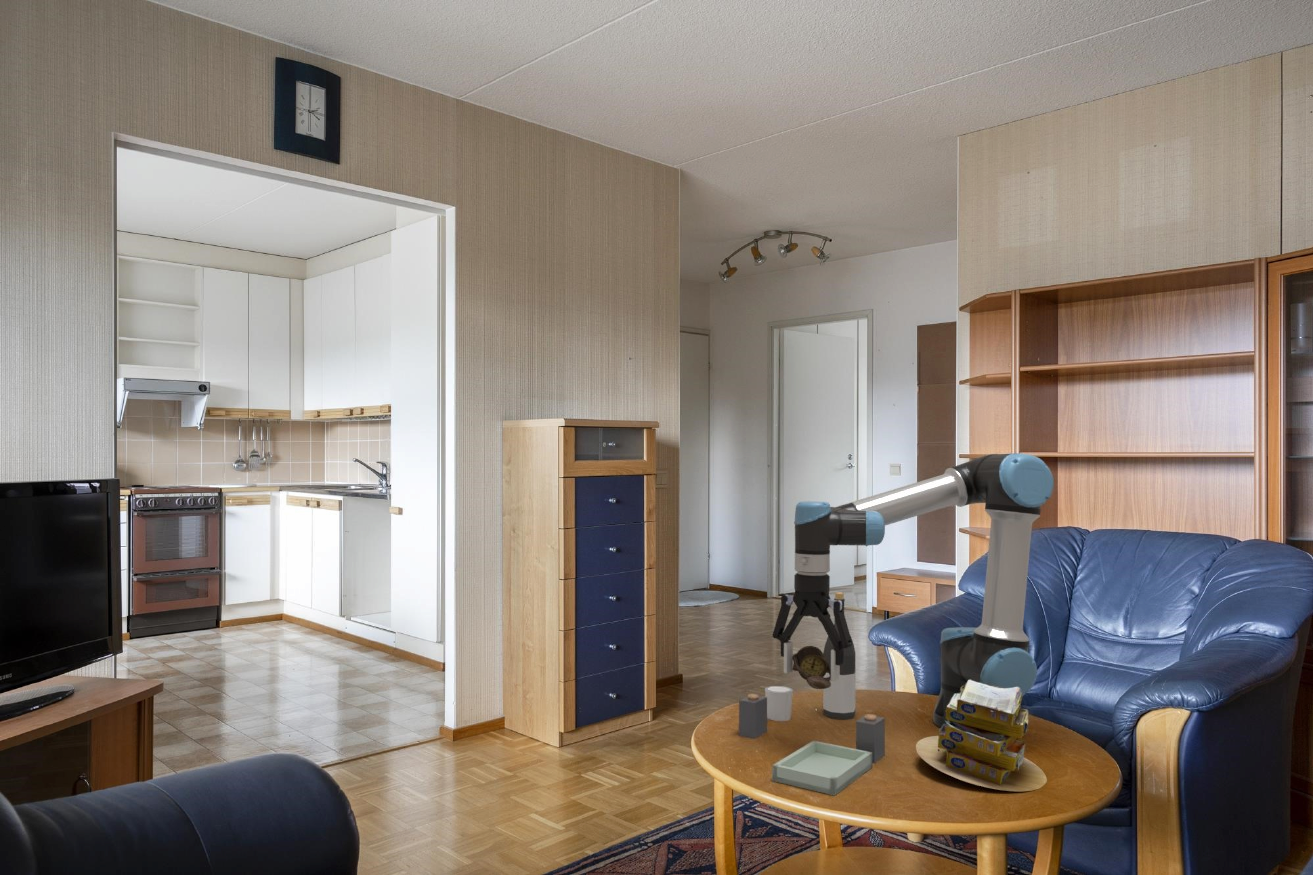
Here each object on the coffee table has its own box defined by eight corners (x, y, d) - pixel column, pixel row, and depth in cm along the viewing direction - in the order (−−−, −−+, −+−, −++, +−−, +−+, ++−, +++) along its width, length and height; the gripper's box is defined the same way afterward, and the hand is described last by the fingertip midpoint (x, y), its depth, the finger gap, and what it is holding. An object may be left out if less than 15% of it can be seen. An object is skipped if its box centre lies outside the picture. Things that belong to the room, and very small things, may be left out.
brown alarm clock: (843, 653, 194) (799, 639, 197) (836, 659, 182) (789, 645, 185) (835, 685, 194) (791, 671, 197) (827, 693, 182) (781, 678, 185)
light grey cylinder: (795, 722, 210) (795, 692, 211) (766, 721, 210) (766, 692, 211) (791, 713, 217) (791, 685, 217) (763, 713, 217) (763, 685, 218)
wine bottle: (816, 715, 216) (816, 592, 217) (833, 708, 222) (833, 589, 223) (845, 721, 211) (845, 596, 212) (862, 714, 217) (862, 592, 218)
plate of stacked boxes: (1064, 770, 178) (1064, 687, 179) (1017, 804, 160) (1017, 711, 161) (948, 743, 195) (948, 667, 196) (894, 771, 177) (893, 687, 178)
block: (884, 755, 186) (884, 714, 187) (874, 763, 181) (874, 720, 182) (866, 752, 189) (866, 710, 189) (856, 759, 184) (856, 717, 184)
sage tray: (872, 767, 179) (872, 752, 179) (834, 795, 163) (834, 779, 164) (813, 754, 186) (813, 740, 187) (772, 780, 171) (772, 765, 171)
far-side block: (766, 732, 202) (767, 693, 203) (754, 738, 197) (754, 699, 198) (751, 729, 205) (751, 691, 205) (739, 735, 200) (739, 696, 200)
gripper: (757, 570, 194) (756, 671, 193) (854, 579, 180) (854, 688, 179) (773, 567, 200) (772, 665, 199) (869, 575, 186) (868, 681, 185)
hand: (811, 676), depth 189 cm, fingers closed on brown alarm clock, 10 cm apart
